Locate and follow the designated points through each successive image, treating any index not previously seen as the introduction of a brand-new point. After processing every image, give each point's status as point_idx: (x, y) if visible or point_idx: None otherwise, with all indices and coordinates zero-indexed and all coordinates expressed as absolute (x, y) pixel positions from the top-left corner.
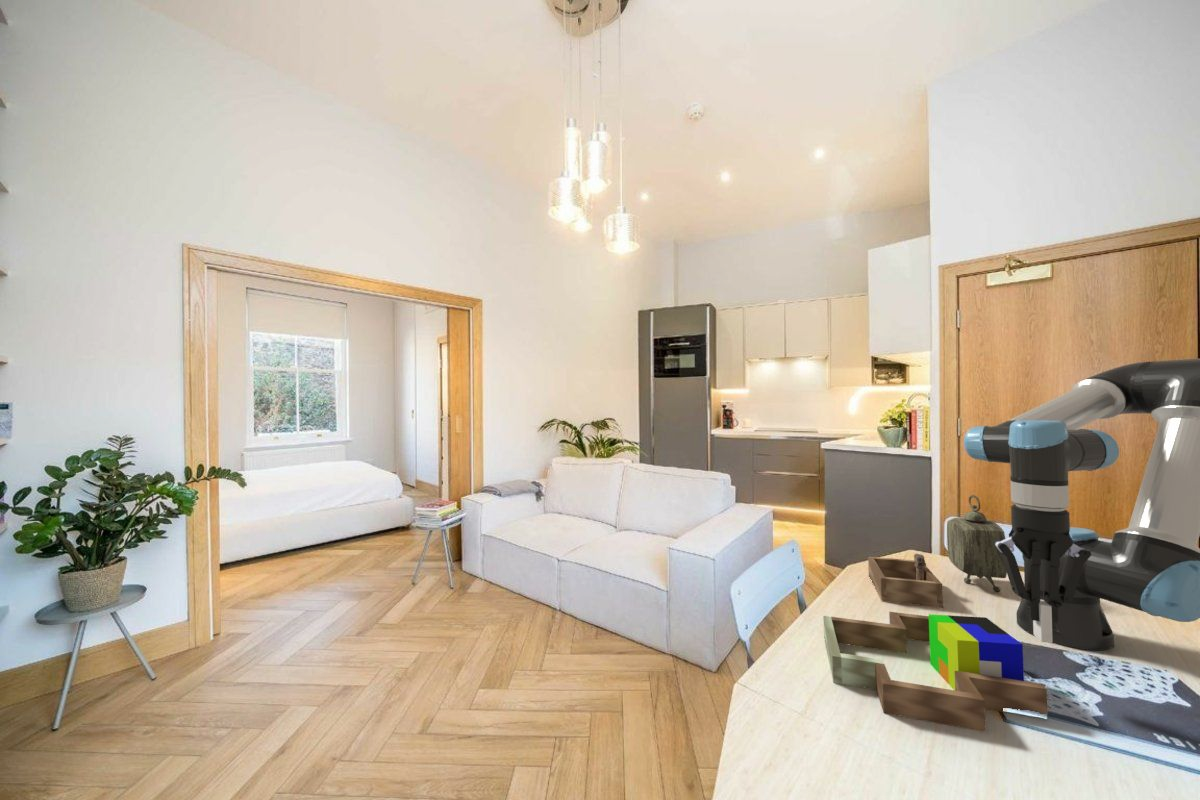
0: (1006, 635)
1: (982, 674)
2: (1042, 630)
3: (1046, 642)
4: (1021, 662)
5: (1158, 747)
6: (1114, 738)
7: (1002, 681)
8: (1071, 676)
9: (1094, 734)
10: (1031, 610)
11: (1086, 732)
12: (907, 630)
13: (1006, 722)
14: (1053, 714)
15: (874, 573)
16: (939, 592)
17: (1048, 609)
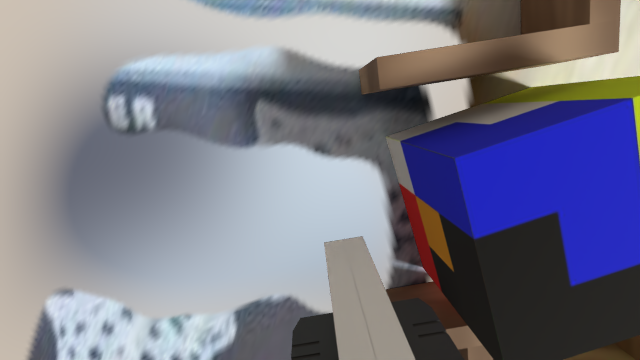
0: (488, 225)
1: (516, 105)
2: (368, 261)
3: (345, 239)
4: (427, 147)
5: (162, 63)
6: (240, 57)
7: (492, 46)
8: (247, 317)
9: (277, 53)
10: (445, 340)
11: (291, 53)
12: (596, 350)
13: (456, 7)
14: (339, 105)
15: None
16: None
17: (360, 354)
